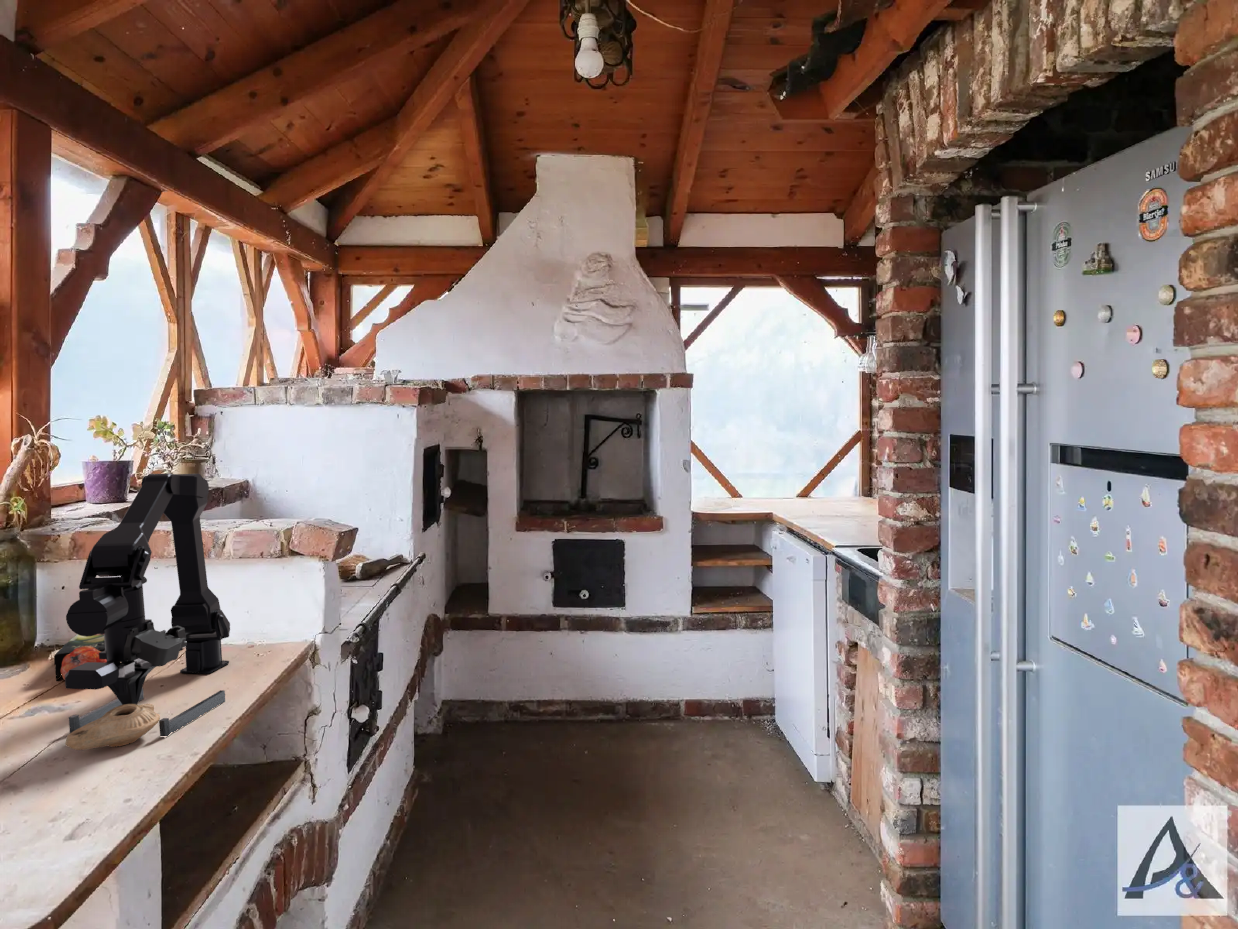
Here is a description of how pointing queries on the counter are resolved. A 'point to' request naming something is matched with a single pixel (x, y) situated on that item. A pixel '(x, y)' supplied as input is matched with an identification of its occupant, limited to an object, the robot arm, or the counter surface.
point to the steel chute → (164, 724)
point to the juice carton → (77, 642)
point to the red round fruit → (80, 658)
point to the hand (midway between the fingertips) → (131, 711)
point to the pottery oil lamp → (115, 727)
